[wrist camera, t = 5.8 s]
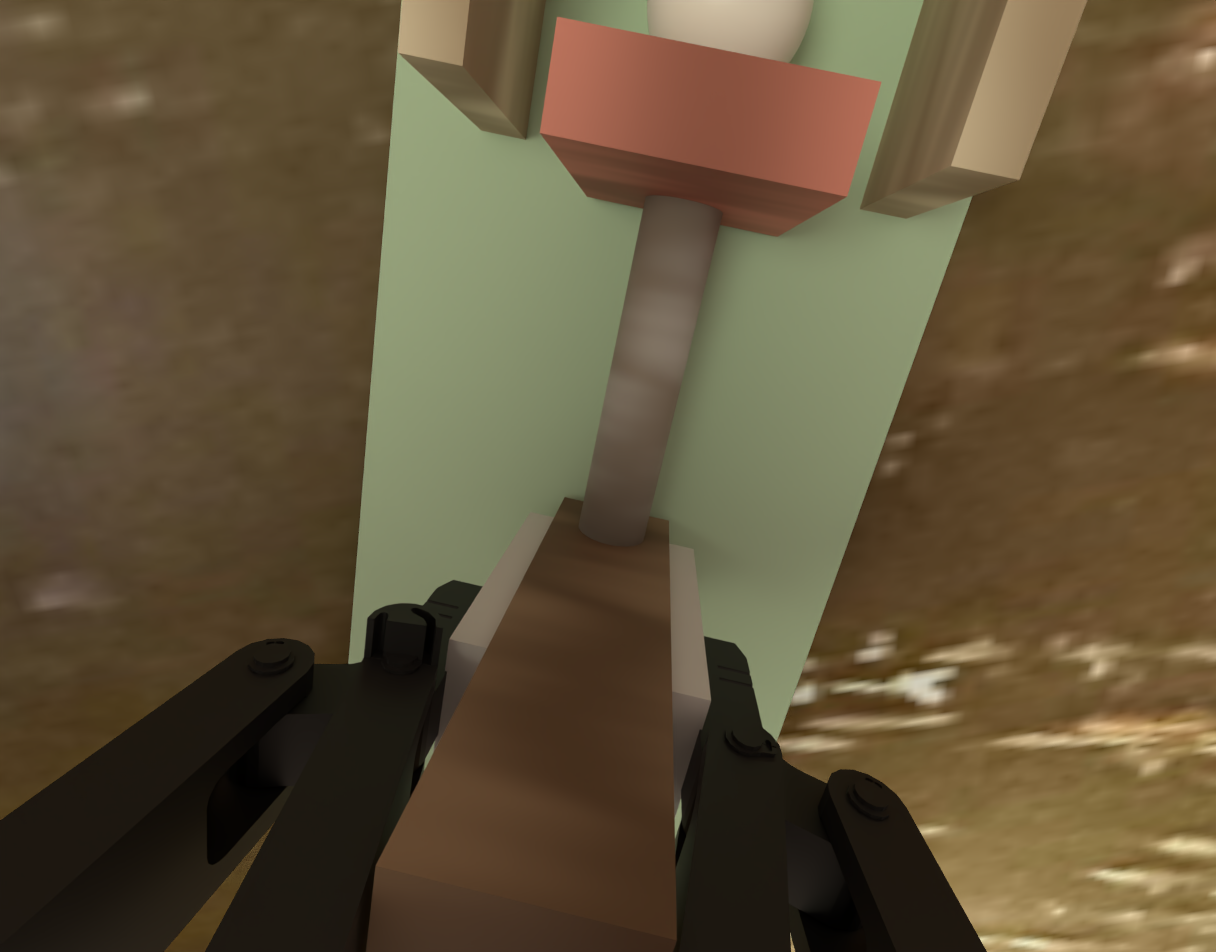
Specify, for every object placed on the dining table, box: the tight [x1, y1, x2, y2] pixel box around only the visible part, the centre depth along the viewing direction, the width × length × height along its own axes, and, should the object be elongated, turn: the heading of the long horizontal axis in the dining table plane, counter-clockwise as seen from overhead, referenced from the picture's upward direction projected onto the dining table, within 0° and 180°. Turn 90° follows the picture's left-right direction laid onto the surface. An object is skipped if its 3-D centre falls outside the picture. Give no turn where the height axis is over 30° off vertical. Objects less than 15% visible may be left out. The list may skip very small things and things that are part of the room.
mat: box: [348, 0, 972, 838], centre depth 18 cm, size 15×32×1 cm, turn 168°
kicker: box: [366, 17, 881, 952], centre depth 11 cm, size 5×13×12 cm, turn 168°
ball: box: [647, 0, 814, 63], centre depth 13 cm, size 4×4×4 cm
